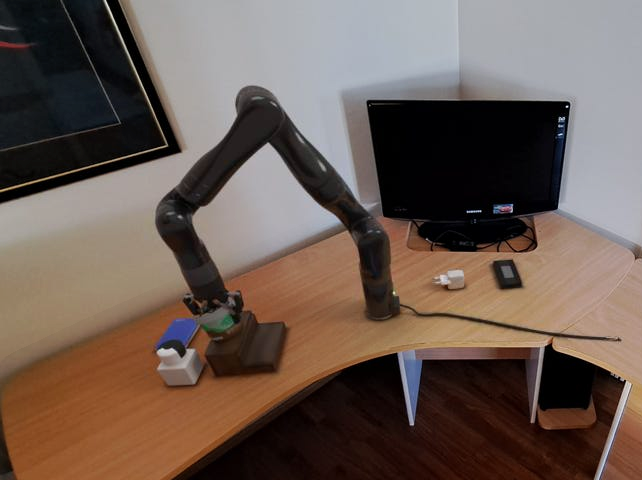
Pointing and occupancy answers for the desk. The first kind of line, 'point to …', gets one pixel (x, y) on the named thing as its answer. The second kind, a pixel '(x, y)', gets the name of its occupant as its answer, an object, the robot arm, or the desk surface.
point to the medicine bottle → (178, 363)
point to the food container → (218, 323)
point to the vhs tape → (507, 274)
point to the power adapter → (451, 279)
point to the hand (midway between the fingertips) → (225, 322)
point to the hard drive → (180, 332)
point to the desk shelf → (248, 348)
